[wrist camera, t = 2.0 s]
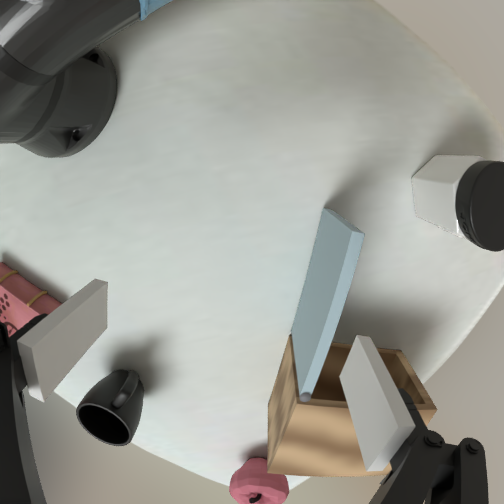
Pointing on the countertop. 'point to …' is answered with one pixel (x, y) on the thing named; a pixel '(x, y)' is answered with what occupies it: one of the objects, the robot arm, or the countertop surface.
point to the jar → (463, 198)
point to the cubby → (327, 417)
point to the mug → (113, 408)
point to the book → (21, 300)
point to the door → (323, 296)
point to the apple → (258, 484)
